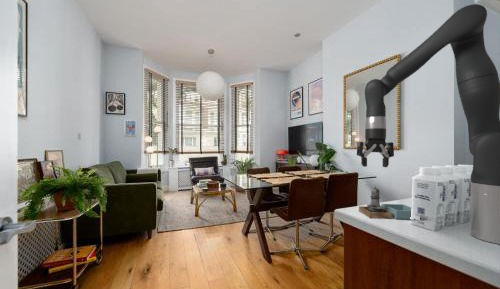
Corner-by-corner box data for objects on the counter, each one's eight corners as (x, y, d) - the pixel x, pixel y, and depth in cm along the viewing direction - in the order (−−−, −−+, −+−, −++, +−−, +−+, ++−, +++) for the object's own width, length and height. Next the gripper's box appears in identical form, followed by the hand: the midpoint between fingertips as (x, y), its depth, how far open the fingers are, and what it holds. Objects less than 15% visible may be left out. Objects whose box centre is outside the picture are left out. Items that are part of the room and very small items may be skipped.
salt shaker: (378, 213, 89) (379, 185, 89) (386, 217, 83) (386, 187, 83) (364, 212, 89) (364, 184, 90) (370, 216, 84) (371, 187, 84)
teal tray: (403, 212, 90) (403, 204, 90) (420, 220, 81) (421, 211, 81) (381, 212, 90) (381, 203, 90) (396, 219, 81) (396, 210, 81)
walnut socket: (379, 211, 91) (379, 206, 91) (392, 218, 82) (392, 213, 82) (358, 211, 91) (359, 206, 91) (370, 218, 82) (370, 212, 82)
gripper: (363, 127, 83) (362, 167, 83) (398, 127, 83) (398, 168, 83) (354, 128, 91) (353, 165, 91) (386, 129, 91) (385, 166, 90)
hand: (374, 166), depth 87 cm, fingers open, 8 cm apart
